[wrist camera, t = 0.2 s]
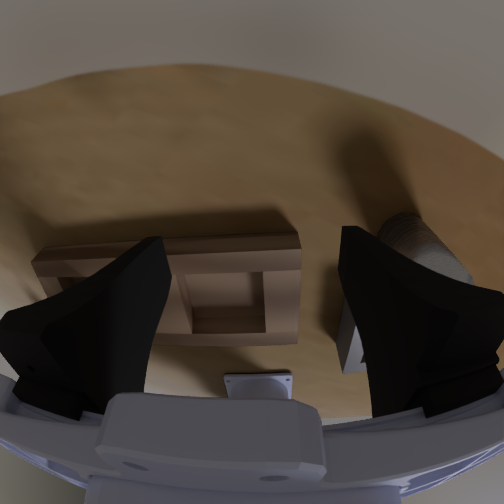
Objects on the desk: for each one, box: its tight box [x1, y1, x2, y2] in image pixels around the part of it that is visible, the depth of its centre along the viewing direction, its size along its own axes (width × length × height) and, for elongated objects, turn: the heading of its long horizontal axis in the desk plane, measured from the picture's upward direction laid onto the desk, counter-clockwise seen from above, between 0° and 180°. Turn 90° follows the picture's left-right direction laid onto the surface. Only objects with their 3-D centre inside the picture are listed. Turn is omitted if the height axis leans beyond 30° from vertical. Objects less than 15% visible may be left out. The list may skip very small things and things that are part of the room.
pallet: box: [31, 232, 302, 346], centre depth 24 cm, size 10×24×2 cm, turn 94°
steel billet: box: [377, 212, 474, 285], centre depth 19 cm, size 5×5×8 cm
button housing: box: [336, 297, 367, 374], centre depth 25 cm, size 7×7×4 cm
